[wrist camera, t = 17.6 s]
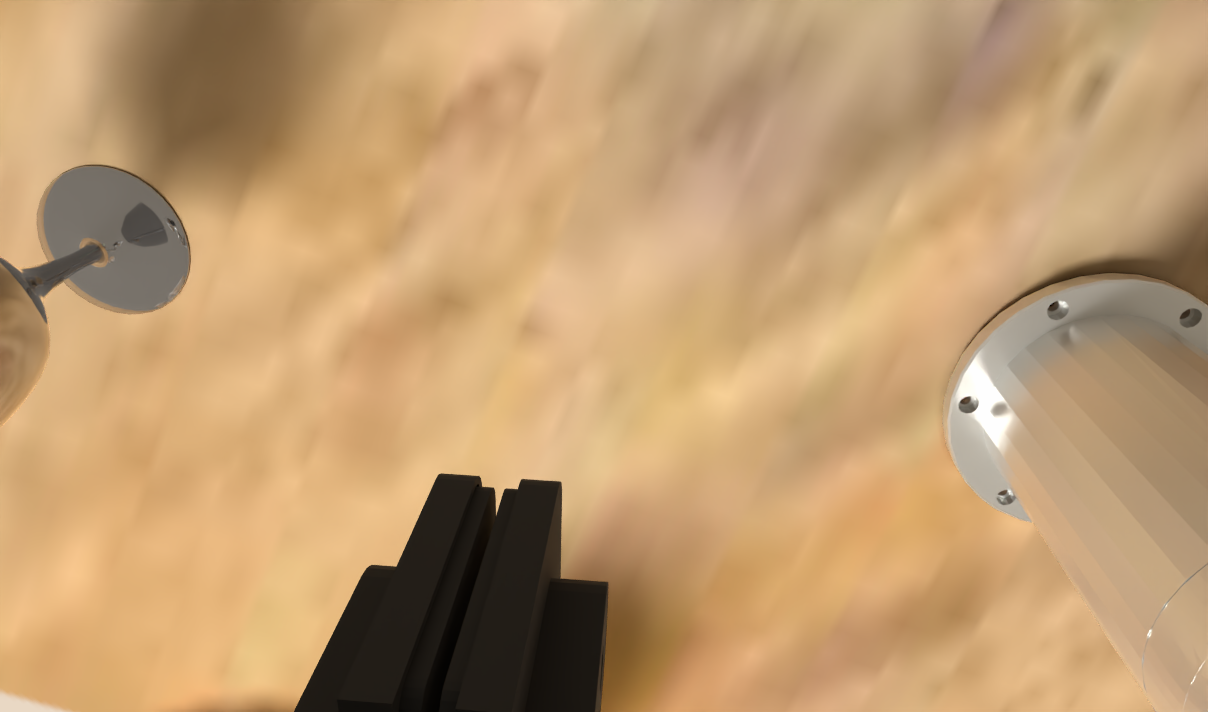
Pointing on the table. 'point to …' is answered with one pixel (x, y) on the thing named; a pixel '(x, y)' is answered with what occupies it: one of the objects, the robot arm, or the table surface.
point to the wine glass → (88, 265)
